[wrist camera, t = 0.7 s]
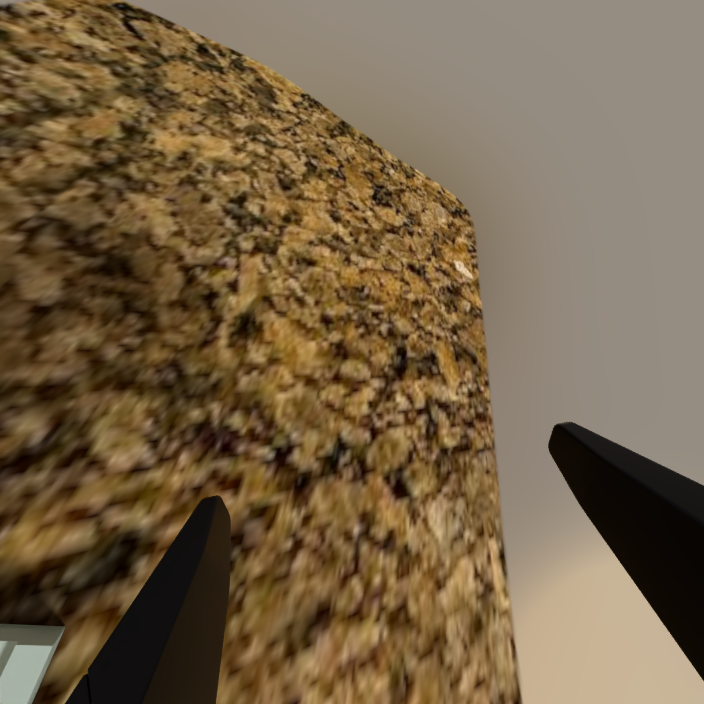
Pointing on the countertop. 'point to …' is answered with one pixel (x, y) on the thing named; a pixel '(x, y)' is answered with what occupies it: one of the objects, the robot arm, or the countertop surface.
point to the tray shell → (25, 659)
